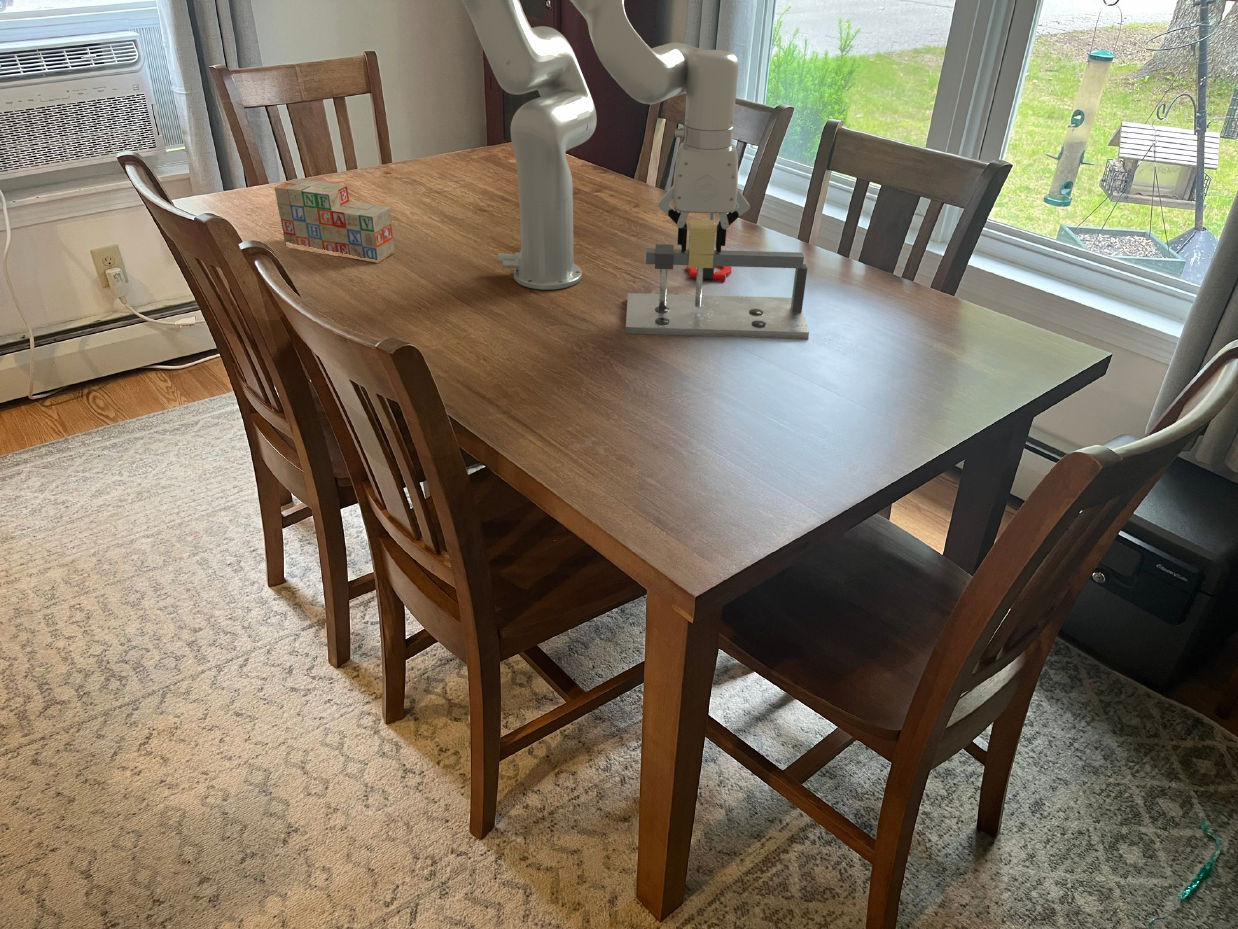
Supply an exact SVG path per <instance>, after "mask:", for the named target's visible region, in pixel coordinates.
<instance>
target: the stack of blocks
mask: <svg viewBox="0 0 1238 929" xmlns="http://www.w3.org/2000/svg"><path fill="white" fill-rule="evenodd" d="M274 193H275V197H276V202H277V203H276V204H277V209H278V214H279V218H280V224H281V227H282V232H283V240H284V243H285V242H289V243H292V244H297V245H304V246H308V247H313V248H317V249H322V250H323V249H324V250H327V251H333V252H340V253H342V254H343V253H344V254H349V255H352V256H357V257H360V258H369V259H375V260H379V259H381V258H383V257H384V256H386V255H387V254H389V253H390V252H392V251H394V250H395V244H394V235H393V234H394V232H393V224H392V215H391V213H392V212H391V207H390V206H384V205H376V204H372V203H365V202H360V201H359V202H358V201H350V196H349V190H348V186H347V185H345V184H344V185H343V184H337V183H330V182H323V181H321V182H320V181H313V180H307V179H301V178H293V179H291V180H290V179H289V180H287V181H285V182H284V183H281V184H279V185H277V186H274Z"/></svg>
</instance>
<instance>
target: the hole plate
mask: <svg viewBox="0 0 1238 929" xmlns="http://www.w3.org/2000/svg"><path fill="white" fill-rule="evenodd" d="M695 295H696V294H678V293H676V294H673V293H672V294H671V293H669V294H668V293H666V310H663V311H661V310H659V293H642V292H641V293H640V292H639V293H638V292H637V293H636V292H634V293H633V292H627V300H626V302H627V303H626V317H625V318H626V319H625V334H627V335H628V334H630V335H631V334H632V335H658V336H661V335H663V336H664V335H665V336H669V335H670V336H696V337H724V338H725V337H726V338H727V337H729V338H731V337H733V338H734V337H735V338H758V339H759V338H760V339H761V338H764V339H765V338H767V339H793V338H800V339H799V340H801V338H803V339H802V340H804V339H805V338H807V339H805V340H808V339H809V338H810V337H809V336H810V330H809V327H808V323H807V321H806V318H805V315H804V312H803V310H802V312H792V309H791V302H792V297H784V296H783V297H777V296H774V297H773V296H772V297H771V296H749V295H748V296H747V295H746V296H744V295H743V296H741V295H739V296H738V295H715V294H714V295H712V294H711V295H710V294H709V295H707V294H701V307H695Z"/></svg>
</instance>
